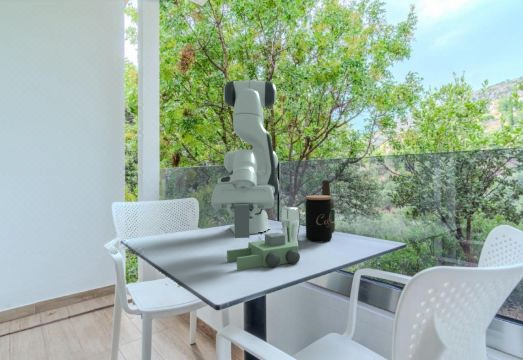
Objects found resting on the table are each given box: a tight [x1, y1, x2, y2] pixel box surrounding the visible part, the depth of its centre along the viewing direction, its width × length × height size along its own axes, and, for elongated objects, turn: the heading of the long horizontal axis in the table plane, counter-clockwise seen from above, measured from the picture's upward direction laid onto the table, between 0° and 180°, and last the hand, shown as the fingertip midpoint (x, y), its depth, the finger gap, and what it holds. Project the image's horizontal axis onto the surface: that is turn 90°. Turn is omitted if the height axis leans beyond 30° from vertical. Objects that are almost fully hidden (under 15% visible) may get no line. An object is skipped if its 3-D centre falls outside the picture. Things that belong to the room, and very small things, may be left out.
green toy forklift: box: [226, 232, 301, 271], centre depth 101 cm, size 16×20×8 cm
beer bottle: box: [321, 179, 336, 233], centre depth 146 cm, size 8×8×24 cm
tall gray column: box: [233, 204, 251, 239], centre depth 97 cm, size 4×4×10 cm
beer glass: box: [280, 206, 301, 249], centre depth 117 cm, size 7×7×15 cm
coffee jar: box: [304, 194, 333, 243], centre depth 130 cm, size 11×11×18 cm
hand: (241, 217), depth 96 cm, fingers closed on tall gray column, 5 cm apart
